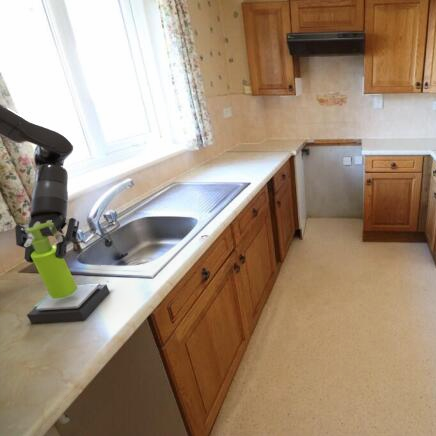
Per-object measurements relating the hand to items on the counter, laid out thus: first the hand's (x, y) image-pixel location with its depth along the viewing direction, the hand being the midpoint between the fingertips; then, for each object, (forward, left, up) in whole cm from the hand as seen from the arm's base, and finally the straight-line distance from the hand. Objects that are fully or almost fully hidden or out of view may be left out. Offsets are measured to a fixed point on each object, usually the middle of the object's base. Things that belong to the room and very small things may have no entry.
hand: (45, 259), depth 83 cm
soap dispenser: (0, +2, -11) cm, 12 cm away
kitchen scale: (0, +2, -17) cm, 17 cm away
